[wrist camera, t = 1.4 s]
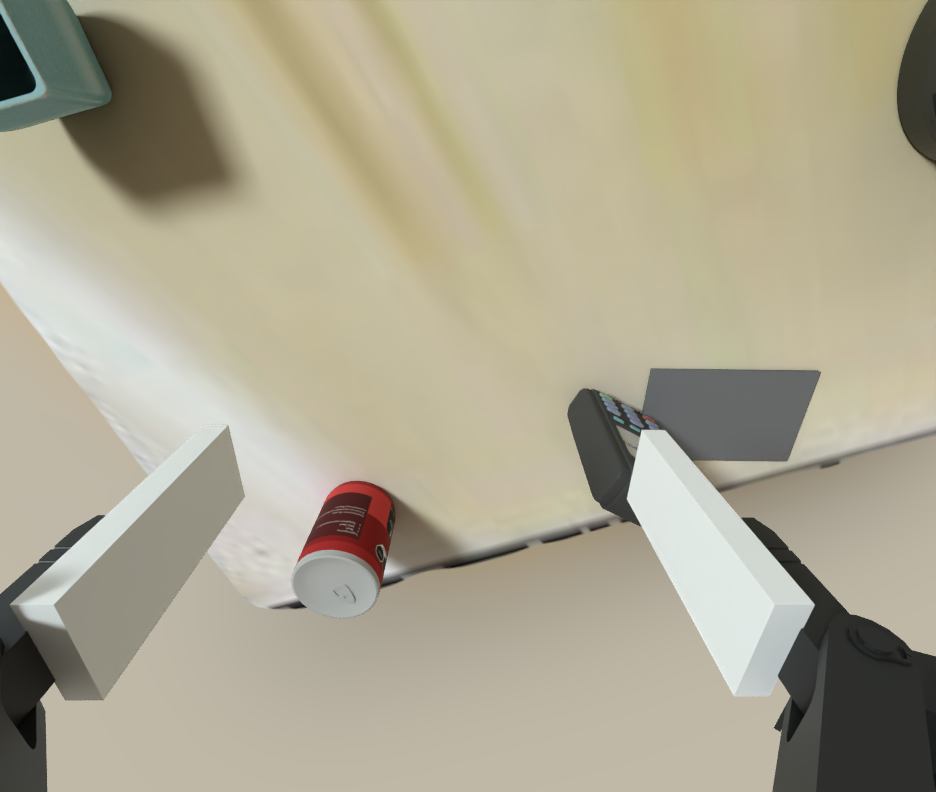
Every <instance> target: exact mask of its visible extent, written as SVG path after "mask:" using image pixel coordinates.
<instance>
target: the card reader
mask: <svg viewBox="0 0 936 792" xmlns="http://www.w3.org/2000/svg"><path fill="white" fill-rule="evenodd" d="M568 419H569V422H570V426H571V430H572V433H573V437H574V440H575V443H576V446H577V449H578V452H579V455H580V459H581V462H582V465H583V468H584V471H585V474H586V477H587V480H588V483H589V487H590V490H591V493H592V496H593V497H594V499H595V500H596V501H597V502H599V503H600V505H601V507H602V508H603V509H605V510H607V511H609V512H612V513H614V514H616V515H618V516H620V517H622V518H624V519H626V520H628V521H630V522H632V523H635V524H637V525H639V526H641V524H640V522H639V521H638V519H637V517H636V515H635V513H634V511H633V510H632V508H631V506H630V504H629V502H628V500H627V496H628V491H629V486H630V482H631V477H632V473H633V468H634V463H635V459H636V454H637V449H638V445H639V440H640V436H641V431H642V430H661V429H660V427H659V426H658V425H657V424H656V423H655V421H654V420H653V419H651V418H649V417H648V416H646V415H642V414H640V413H638V412H636V411H634V410H633V409H632V408H630V407H629V406H627V405H625V404H621V403H619V402H617V401H615V400H613V399H612V398H611V397H610V396H608V395H606V394H604V393H602V392H598V391H596V390H594V389H592V390H589V389H582V390H581V391H579V393H578V394H577V396H576V397H575V398H574V400H573V401H572V403H571V404H570V406H569V408H568ZM641 527H642V526H641Z"/></svg>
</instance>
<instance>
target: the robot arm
mask: <svg viewBox="0 0 936 792" xmlns="http://www.w3.org/2000/svg"><path fill="white" fill-rule="evenodd" d="M898 109H899V115H900V119H901V123H902V126H903V129H904V131H905V133H906V135H907V137H908V138H909V140H910V141H911V143H912V144H913V145H914V146H915V148H916V149H917V150H918V151H920V152H921V153H922V154H923V155H925V156H926V157H928V158H930V159H932V160H934V161H936V0H928V2H927V4H926V5H925V7H924V9H923V10H922V12H921V14H920V16H919V18H918V20H917V22H916V24H915V26H914V28H913V31H912V33H911V35H910V38H909V40H908V43H907V46H906V49H905V52H904V55H903V59H902V63H901V68H900V73H899V80H898ZM244 497H245V495H244V491H243V486H242V482H241V478H240V473H239V469H238V465H237V461H236V456H235V452H234V448H233V443H232V439H231V435H230V430H229V426H228V425H203V426H202V427H201V428H200V429H199V430H198V431H196V432H195V433H194V434H193V435H192V436H191V437H190V438H189V439H188V440H187V441H186V442H185V443H183V444H182V445H181V446H180V447H179V448H178V449H177V450H176V451H175V452H174V453H173V454H172V455H171V456H169V457H168V458H167V459H166V460H165V461H164V462H163V463H162V464H161V465H160V466H159V467H158V468H157V469H155V470H154V471H153V472H152V473H151V474H150V475H149V476H148V477H147V478H146V479H145V480H144V481H143V482H142V483H141V484H139V485H138V486H137V487H136V488H135V489H134V490H133V491H132V492H131V493H130V494H128V495H127V496H126V497H125V498H124V499H123V500H122V501H121V502H120V503H119V504H118V505H117V506H116V507H115V508H113V509H112V510H111V511H110V512H109V513H108V514H107V515H98V516H96V517H94V518H92V519H91V520H89V521H87V522H86V523H84V524H82V525H80V526H79V527H77V528H75V529H74V530H72V531H71V532H70V533H69V534H68V535H67V536H66V537H64V538H63V539H62V540H61V541H60V542H59V543H58V544H57V545H55V549H54V550H50V551H49V552H47V553H46V554H45V555H44V556H43V557H42V558H41V559H40V560H39V563H38V564H34V565H33V566H32V567H31V568H29V569H28V570H27V571H26V572H25V573H24V574H23V575H22V576H20V577H19V578H18V579H17V580H16V581H15V582H14V583H12V584H11V585H10V586H9V587H8V588H7V589H6V590H5V591H3V592H2V593H1V594H0V792H47V765H46V722H45V710H44V707H43V705H42V703H41V701H40V699H41V697H42V696H43V695H44V694H45V693H46V692H47V690H48V689H49V688H50V687H51V685H52V684H53V683H54V682H55V684H56V685H57V687H58V689H59V691H60V692H61V694H62V696H63V697H64V699H65V700H104V699H105V697H106V695H107V694H108V693H109V692H110V690H111V689H112V687H113V686H114V684H115V683H116V681H117V680H118V679H119V677H120V675H121V674H122V673H123V671H124V670H125V668H126V667H127V665H128V664H129V663H130V661H131V660H132V658H133V657H134V655H135V654H136V653H137V651H138V650H139V648H140V647H141V645H142V644H143V643H144V641H145V640H146V638H147V637H148V635H149V634H150V632H151V631H152V630H153V628H154V627H155V625H156V624H157V622H158V621H159V619H160V618H161V617H162V615H163V613H164V612H165V611H166V609H167V608H168V606H169V605H170V604H171V602H172V601H173V599H174V598H175V596H176V595H177V593H178V592H179V591H180V589H181V588H182V586H183V585H184V583H185V582H186V581H187V579H188V578H189V576H190V575H191V573H192V572H193V570H194V569H195V568H196V566H197V565H198V563H199V562H200V560H201V559H202V557H203V556H204V555H205V553H206V552H207V550H208V549H209V547H210V546H211V545H212V543H213V542H214V540H215V539H216V537H217V536H218V534H219V533H220V532H221V530H222V529H223V527H224V526H225V524H226V523H227V521H228V520H229V519H230V517H231V516H232V514H233V513H234V511H235V510H236V508H237V507H238V506H239V504H240V503H241V501H242V500H243V498H244ZM627 500H628V502H629V504H630V506H631V508H632V510H633V511H634V513H635V515H636V517H637V519H638V521H639V522H640V524H641V526H642V528H643V530H644V532H645V533H646V535H647V537H648V539H649V541H650V543H651V545H652V546H653V548H654V550H655V552H656V554H657V556H658V557H659V559H660V561H661V563H662V565H663V566H664V568H665V570H666V572H667V574H668V576H669V577H670V579H671V581H672V583H673V585H674V587H675V589H676V591H677V592H678V594H679V596H680V598H681V600H682V602H683V603H684V605H685V607H686V609H687V611H688V612H689V614H690V616H691V618H692V620H693V622H694V624H695V625H696V627H697V629H698V631H699V633H700V635H701V636H702V638H703V640H704V642H705V644H706V646H707V647H708V649H709V651H710V653H711V655H712V657H713V659H714V660H715V662H716V664H717V666H718V668H719V670H720V671H721V673H722V675H723V677H724V679H725V681H726V682H727V684H728V686H729V688H730V690H731V692H732V693H733V695H734V696H770V694H771V692H772V690H773V688H774V686H775V684H776V682H777V680H778V678H779V679H780V680H781V682H782V683H783V685H784V686H785V688H786V689H787V691H788V692H789V694H790V695H791V697H790V699H789V701H788V702H787V704H786V706H785V708H784V710H783V712H782V714H781V715H780V717H779V719H778V721H777V723H776V725H775V727H774V728H775V729H776V730H778V731H781V729H782V733H781V740H780V746H779V752H778V759H777V766H776V772H775V779H774V785H773V792H936V656H932V655H928V654H924V653H920V652H916V651H912V650H911V649H910V648H909V647H908V646H907V645H906V643H905V642H904V641H903V640H901V639H900V638H899V637H897V636H896V635H895V634H894V633H892V632H891V631H890V630H888V629H886V628H885V627H883V626H881V625H879V624H877V623H876V622H874V621H872V620H869V619H865V618H863V617H860V616H857V615H850V614H849V613H848V612H847V610H846V609H845V608H844V607H843V606H842V605H841V604H840V603H839V602H838V601H837V600H836V599H835V597H833V595H832V594H831V593H830V592H829V591H828V590H827V589H826V588H825V587H824V586H823V584H822V583H821V582H820V581H819V580H818V579H817V578H816V577H815V576H814V575H813V574H812V573H811V572H810V570H809V569H808V568H807V567H806V566H805V565H804V564H801V561H800V559H799V558H798V557H797V556H796V555H795V554H794V553H793V552H792V551H789V549H788V547H787V545H786V544H785V543H784V542H783V541H782V540H781V539H780V538H779V537H778V536H777V535H776V533H775V532H774V531H772V530H771V529H769V528H768V527H766V526H765V525H763V524H762V523H760V522H759V521H757V520H756V519H755V518H740V517H739V516H738V514H737V513H736V512H735V511H734V510H733V509H732V508H731V506H730V505H729V504H728V503H727V502H726V500H725V499H724V498H723V497H722V496H721V495H720V493H719V492H718V491H717V490H716V489H715V488H714V486H713V485H712V484H711V483H710V482H709V481H708V479H707V478H706V477H705V476H704V475H703V474H702V472H701V471H700V470H699V469H698V468H697V467H696V465H695V464H694V463H693V462H692V461H691V460H690V458H689V457H688V456H687V455H686V454H685V453H684V451H683V450H682V449H681V448H680V447H679V446H678V444H677V443H676V442H675V441H674V440H673V439H672V437H671V436H670V435H669V434H668V433H667V432H666V430H642V431H641V436H640V440H639V445H638V449H637V454H636V459H635V463H634V468H633V473H632V477H631V482H630V486H629V491H628V496H627Z"/></svg>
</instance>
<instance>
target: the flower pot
mask: <svg viewBox="0 0 936 792" xmlns="http://www.w3.org/2000/svg"><path fill="white" fill-rule="evenodd" d="M111 98H112V91H111V89H110V86H109V84H108V82H107V80H106V78H105V75H104V73H103V71H102V69H101V67H100V65H99V63H98V61H97V59H96V56H95V54H94V52H93V50H92V48H91V46H90V43H89V41H88V39H87V37H86V34H85V32H84V30H83V28H82V26H81V24H80V22H79V20H78V18H77V16H76V15H75V13H74V11H73V10H72V8H71V6H70V5H69V3H68V1H67V0H0V132H6V131H13V130H18V129H23V128H27V127H30V126H34V125H37V124H40V123H43V122H47V121H50V120H54V119H57V118H61V117H64V116H68V115H71V114H74V113H78V112H81V111H85V110H88V109H92V108H96V107H100V106H103V105H105V104H107V103H108V102H110V100H111Z"/></svg>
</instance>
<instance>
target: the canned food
mask: <svg viewBox="0 0 936 792" xmlns="http://www.w3.org/2000/svg"><path fill="white" fill-rule="evenodd" d="M394 522H395V511H394V506H393V503H392V501H391V499H390V498H389V496H388V495H387V494H386V493H385V492H384V491H383V490H382V489H380V488H379V487H377V486H375V485H373V484H371V483H367V482H362V481H351V482H346V483H343V484H341V485H339V486H338V487H336V488H335V489H334V490H333V491H332V492H331V493H330V494H329V495H328V496H327V498H326V500H325V502H324V505H323V507H322V509H321V511H320V513H319V516H318V518H317V520H316V522H315V524H314V526H313V529H312V531H311V533H310V535H309V537H308V539H307V542H306V544H305V546H304V548H303V550H302V552H301V555H300V557H299V559H298V562H297V564H296V566H295V568H294V572H293V575H292V580H291V581H292V588H293V591H294V593H295V595H296V596H297V598H298V599H299V600H300V601H301V602H302V603H303V604H304V605H305V606H306V607H308V608H309V609H311V610H312V611H314V612H316V613H319V614H322V615H324V616H328V617H333V618H350V617H356V616H359V615H361V614H364V613H365V612H367V611H368V610H370V609H371V608H372V607H373V606H374V604H375V602H376V601H377V598H378V595H379V592H380V588H381V583H382V580H383V575H384V570H385V565H386V561H387V556H388V551H389V546H390V541H391V537H392V532H393V527H394Z"/></svg>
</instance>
